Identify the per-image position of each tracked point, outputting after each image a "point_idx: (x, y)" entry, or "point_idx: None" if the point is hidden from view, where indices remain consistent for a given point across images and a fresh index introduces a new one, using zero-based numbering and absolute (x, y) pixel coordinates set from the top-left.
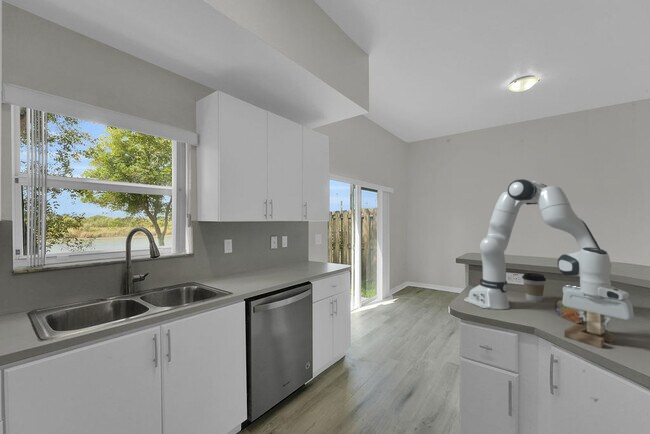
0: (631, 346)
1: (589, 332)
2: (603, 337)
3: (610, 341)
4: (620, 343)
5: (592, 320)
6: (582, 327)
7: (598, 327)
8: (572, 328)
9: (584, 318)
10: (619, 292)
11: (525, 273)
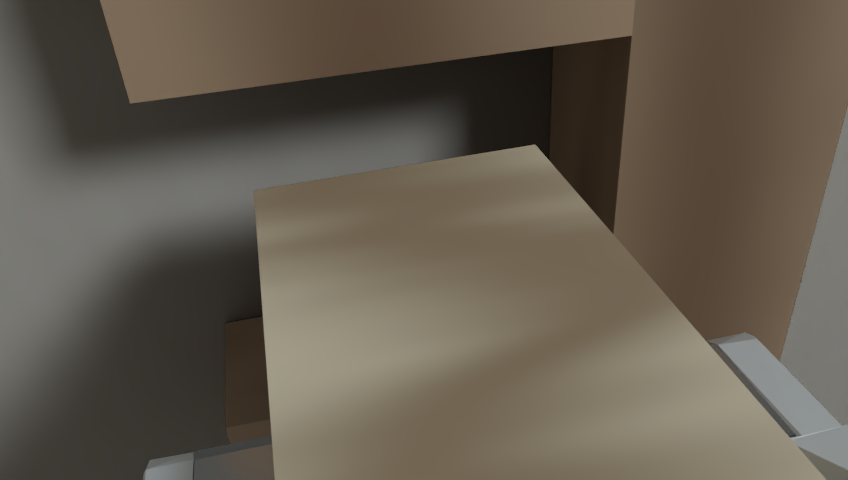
0: (9, 458)
1: None
2: None
3: (229, 345)
4: (146, 425)
5: (539, 402)
6: None
7: (313, 295)
8: (794, 83)
9: (782, 403)
10: None
11: None
